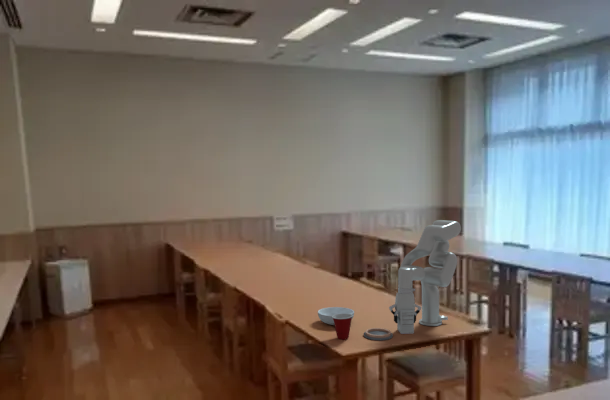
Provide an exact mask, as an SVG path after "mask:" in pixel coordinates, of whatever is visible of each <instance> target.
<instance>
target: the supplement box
mask: <svg viewBox="0 0 610 400" xmlns="http://www.w3.org/2000/svg"><path fill="white" fill-rule="evenodd" d="M397 317H398V318H397V323H396V324H397V325H396V326H397V327H396V328H397V329H396V330H397V331H398V333H400V334H401V335H403V334H407V335H408V334H411V335H412V334H415V323H414V310H400V312H399V313H398V314H397Z"/></svg>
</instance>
